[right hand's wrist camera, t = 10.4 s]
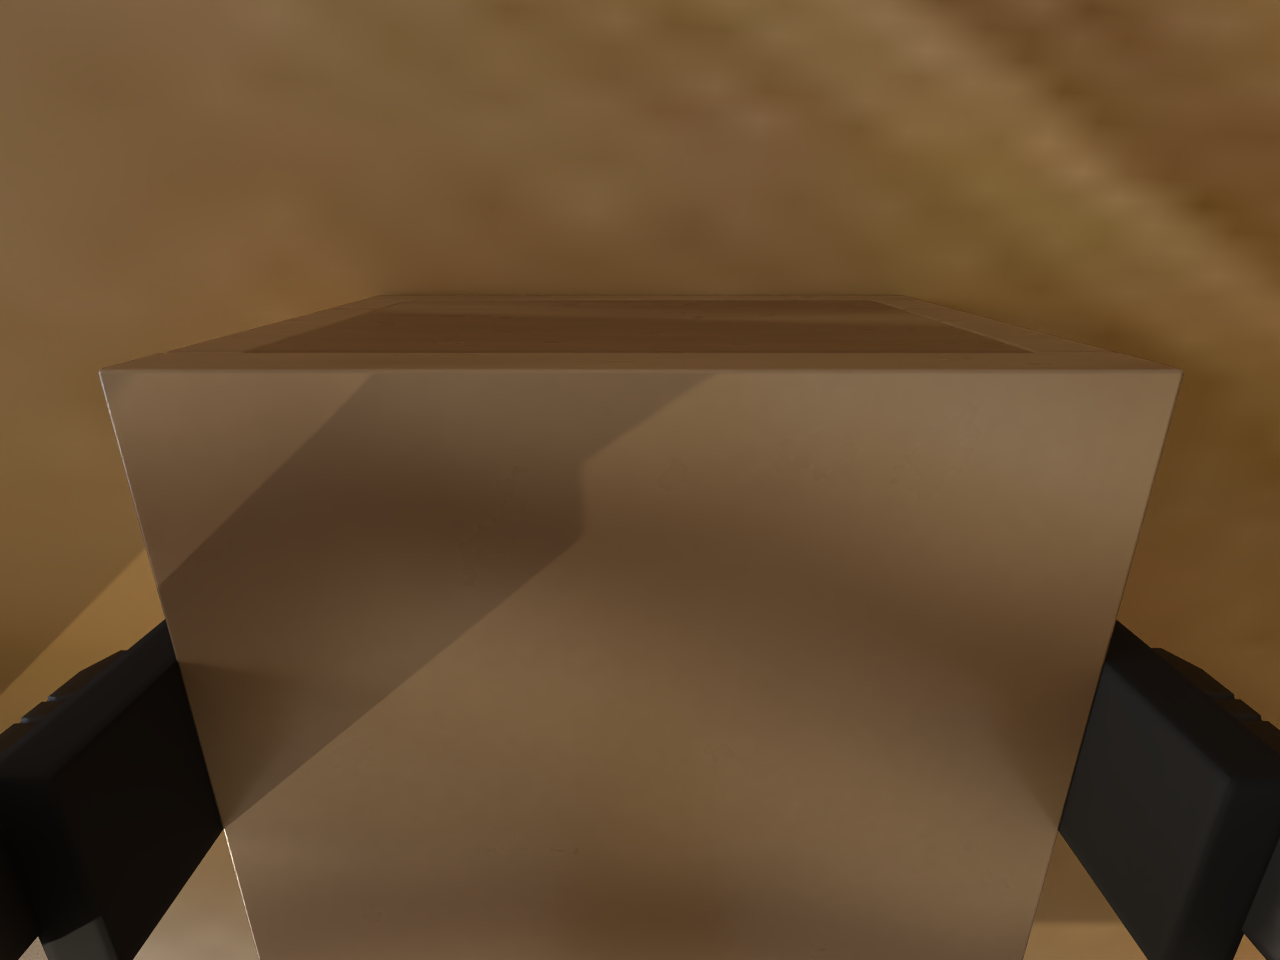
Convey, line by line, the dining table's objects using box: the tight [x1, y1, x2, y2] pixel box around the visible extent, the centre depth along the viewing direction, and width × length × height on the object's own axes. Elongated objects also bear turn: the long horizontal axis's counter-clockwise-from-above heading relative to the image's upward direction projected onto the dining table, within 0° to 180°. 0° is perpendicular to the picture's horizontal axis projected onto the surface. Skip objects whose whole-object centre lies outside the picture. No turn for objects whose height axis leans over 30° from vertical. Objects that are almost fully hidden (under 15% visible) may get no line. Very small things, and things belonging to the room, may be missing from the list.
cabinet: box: [98, 295, 1183, 960], centre depth 14 cm, size 17×11×8 cm
